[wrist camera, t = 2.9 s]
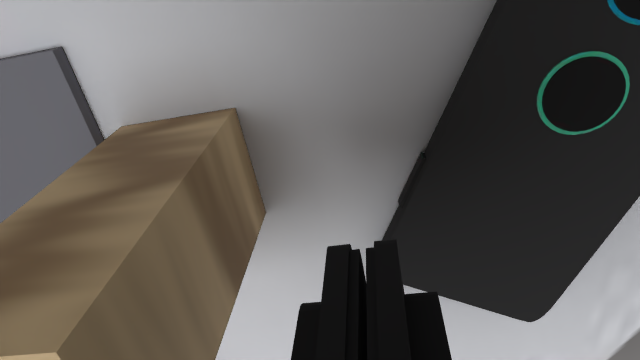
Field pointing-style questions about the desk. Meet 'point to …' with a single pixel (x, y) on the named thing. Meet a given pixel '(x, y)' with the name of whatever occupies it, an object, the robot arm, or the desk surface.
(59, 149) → the charcoal mat
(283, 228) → the desk surface
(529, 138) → the smart home device
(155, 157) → the oak block
